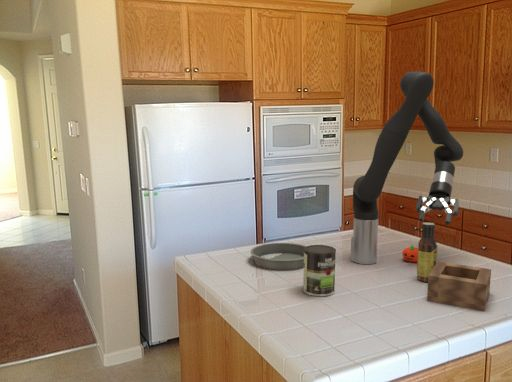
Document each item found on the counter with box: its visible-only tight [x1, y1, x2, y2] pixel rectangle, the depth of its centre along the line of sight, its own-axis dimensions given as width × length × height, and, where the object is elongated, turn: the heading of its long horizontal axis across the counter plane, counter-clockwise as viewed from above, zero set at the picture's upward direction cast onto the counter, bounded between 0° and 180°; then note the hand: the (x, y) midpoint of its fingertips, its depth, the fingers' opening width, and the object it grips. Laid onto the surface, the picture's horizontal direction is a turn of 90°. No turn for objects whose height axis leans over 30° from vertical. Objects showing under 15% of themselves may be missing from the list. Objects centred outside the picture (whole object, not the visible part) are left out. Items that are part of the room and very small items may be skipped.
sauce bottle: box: [416, 222, 438, 283], centre depth 161 cm, size 7×6×20 cm
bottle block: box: [426, 261, 492, 312], centre depth 147 cm, size 16×16×8 cm
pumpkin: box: [401, 244, 418, 263], centre depth 184 cm, size 7×8×6 cm
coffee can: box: [302, 244, 337, 297], centre depth 152 cm, size 10×10×14 cm
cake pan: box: [250, 242, 307, 271], centre depth 184 cm, size 25×25×4 cm
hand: (434, 222), depth 168 cm, fingers open, 8 cm apart
